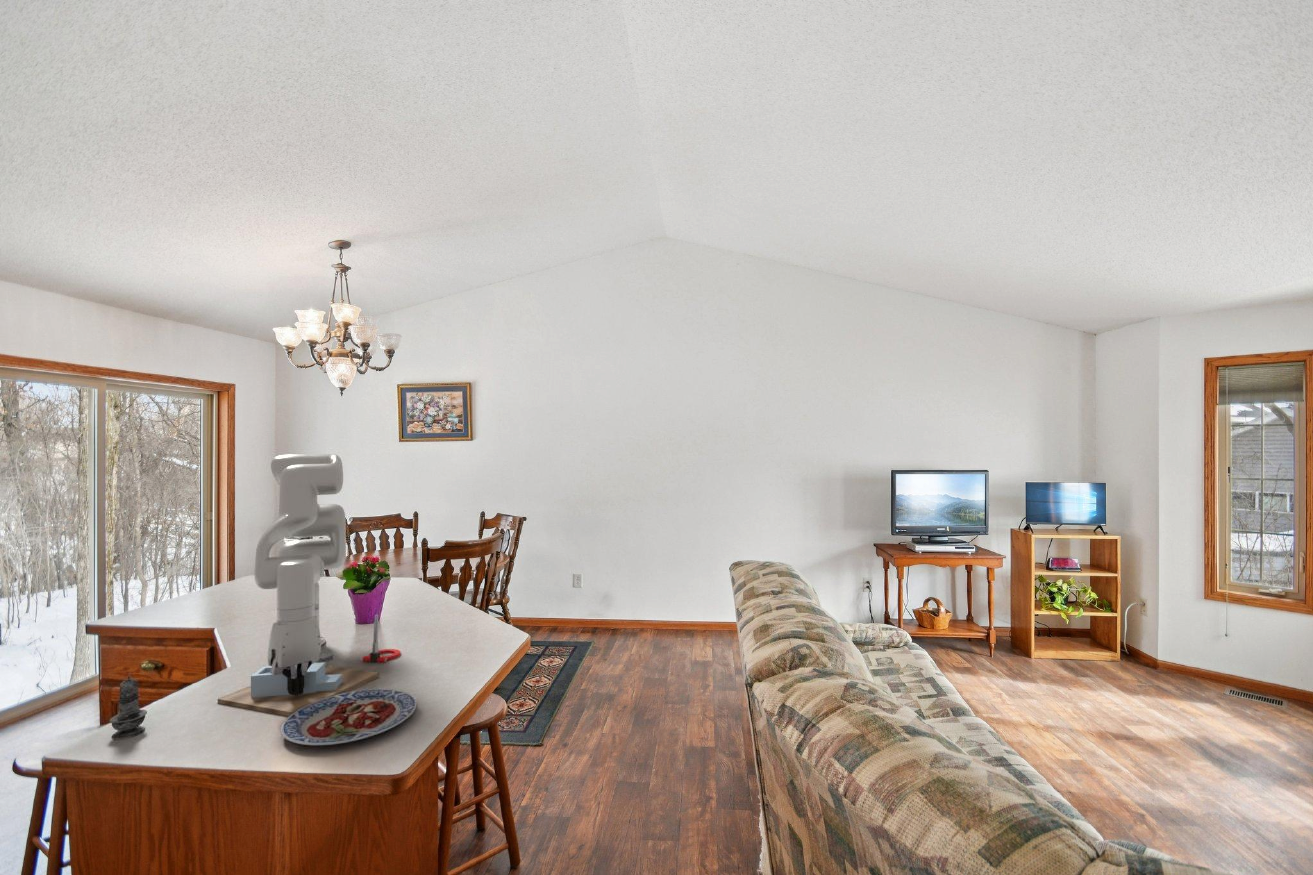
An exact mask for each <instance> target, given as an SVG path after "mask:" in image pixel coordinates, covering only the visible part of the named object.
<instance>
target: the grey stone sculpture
mask: <svg viewBox="0 0 1313 875" xmlns="http://www.w3.org/2000/svg"><path fill="white" fill-rule="evenodd" d="M138 684H139V683H138V680H137V679H135V678H131V675H130V674H129V675H127V677H126V680H123V681H121V683H119V697H118V698H117V700H116V701H117V702H118V712H117V714H116V715H114V716H112V717H111V718H110V719H109V722H110V723H111V726H112V728H113V729H114V730H116V732H114V733H113V734H112V735H111V739H112V740H125V739H128V738H129V739H130V738H133V737H136V736H138V735H140V734H143V733H144V732H145V731H146V727H145V726H141V725H142V724H143V722H144V721H145V718H146V715H147V714H148V710H147V709H140V706H139V698H140V696H141V694H139V685H138Z"/></svg>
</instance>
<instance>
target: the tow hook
mask: <svg viewBox="0 0 1313 875" xmlns="http://www.w3.org/2000/svg"><path fill="white" fill-rule="evenodd" d="M379 623H380V622H379V614H375V615H374V622H373V636H372V638H373V641H372V650H371V652H369V653H368V655H364V656H363V657H362V661H363V662H370V663H387V661H388V660H393V659H396V658H398V657H400V656H401V651H400V650H399V649H394V648H386V649H380V650H379V645H380V644H379V643H380V642H379V626H380V625H379ZM382 654H383V656H381V655H382ZM384 654H390V655H384Z"/></svg>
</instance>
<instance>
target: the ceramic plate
mask: <svg viewBox="0 0 1313 875" xmlns="http://www.w3.org/2000/svg"><path fill="white" fill-rule="evenodd" d="M416 708H417V700H416V698H415V697H414V696H413V695H411V694H409V693H408V692H405V691H402V690H398V689H389V688H375V689H374V688H372V689H371V688H370V689H361V690H354V691H353V690H352V691H349V692H346V693H343V694H339V695H335V696H331V697H328V698H325V699H322V700H319V701H317V702H314V703H312V704H309V705H307V706H305V707H303V708H301V709H299V710H298V711H296V712H295V713H293V714H292V715H290V716H287V718H286V719H285V720H284V721H283V723H282V724H281V727H280V733H281V735H282V737H283V738H284V739H285V740H287V741H289V742H291V743H294V744H298V745H303V746H304V745H305V746H331V745H338V744H345V743H350V742H354V741H359V740H363V739H367V738H370V737H373V736H375V735H378V734H382V733H384V732H386V731H389V730H390V729H393V728H394V727H396V726H398V725H400V724H401V723H403V722H404V721H405V720H406V719H408V718H410V716H412V714H414V712H415V710H416Z"/></svg>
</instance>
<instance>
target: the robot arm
mask: <svg viewBox="0 0 1313 875" xmlns="http://www.w3.org/2000/svg"><path fill="white" fill-rule="evenodd" d="M343 468H344V466H343V462H342V459H341V457H340V456H339V455H337V454H333V453H328V454H327V453H313V454H312V453H307V454H306V453H298V454H297V453H295V454H294V453H293V454H282V455H281V454H280V455H278V456H277V455H276V456H275V457H274V458H273V459H272V460H271V463H270V469H271V473H272V475H273V476H272V477H274V479H275V480H276V482H277V484H278V485H279V494H278V495H279V497H278V498H279V503H278V518H277V519H276V520H275V521H274V523H272V524H271V525H270V526H269V527H268V528H267V529H266V530H265V532H264V533H263V534H262V535H261V537H260V539H259V540H258V543H257V545H256V549H255V559H254V582H255V584H256V586H257V587H258V588H260V589H262V590H273V589H274V590H275V589H276V622H273V623H272V625H271V629H270V633H269V639H268V650H267V664H268V665H267V666H272V668H271V674H273V675H280V674H283V675H284V676H285V677H287V690H288V693H289V694H291V695H295V696H297V695H299V694H302V693H303V688H304V675H306V674H307V670H308V669H309V667H310V666H311V664H313V663H317V661H318V660H319V659H320V658H319V655H320V653H321V649H322V647H321V646H323V645H324V644H325V643H326V638H325V636H323V635H321V630H320V585H319V581H320V580H321V578H322V577H323V576H324V572H325V570H333V569H338V568H340V567H342V566H344V564H345V561H346V554H347V544H346V542H347V540H346V539H347V535H346V534H347V531H346V530H347V524H346V522H347V521H346V520H347V519H346V513H345V510H344V508H343V507H342V506H341V505H340V504H337V503H327V504H325V503H324V504H318V496H324V495H327V496H328V495H337V494H340V492H341V490H342V488H343V485H344V469H343ZM287 537H291V538H307V539H295V540H290V541H288V542H285V543H284V544H282V545H281V546H280V547H279V550H278V556H271V557H270V553H271V550H272V548H273V546H275V545H276V544H277V543H278V542H279V541H280V540H282V539H285V538H287ZM313 537H322V538H313ZM295 665H296V666H295Z"/></svg>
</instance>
